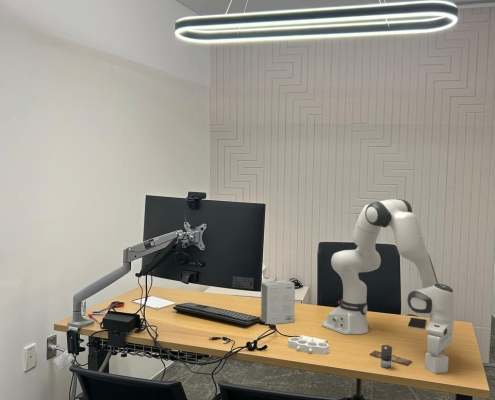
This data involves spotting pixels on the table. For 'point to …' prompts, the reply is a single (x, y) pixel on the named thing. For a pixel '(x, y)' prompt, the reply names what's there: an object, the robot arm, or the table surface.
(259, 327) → the table surface
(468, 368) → the table surface
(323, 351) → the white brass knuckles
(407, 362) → the strip
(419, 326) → the smartphone
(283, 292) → the hard drive box
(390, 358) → the bottle with black cap
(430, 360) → the white cube
